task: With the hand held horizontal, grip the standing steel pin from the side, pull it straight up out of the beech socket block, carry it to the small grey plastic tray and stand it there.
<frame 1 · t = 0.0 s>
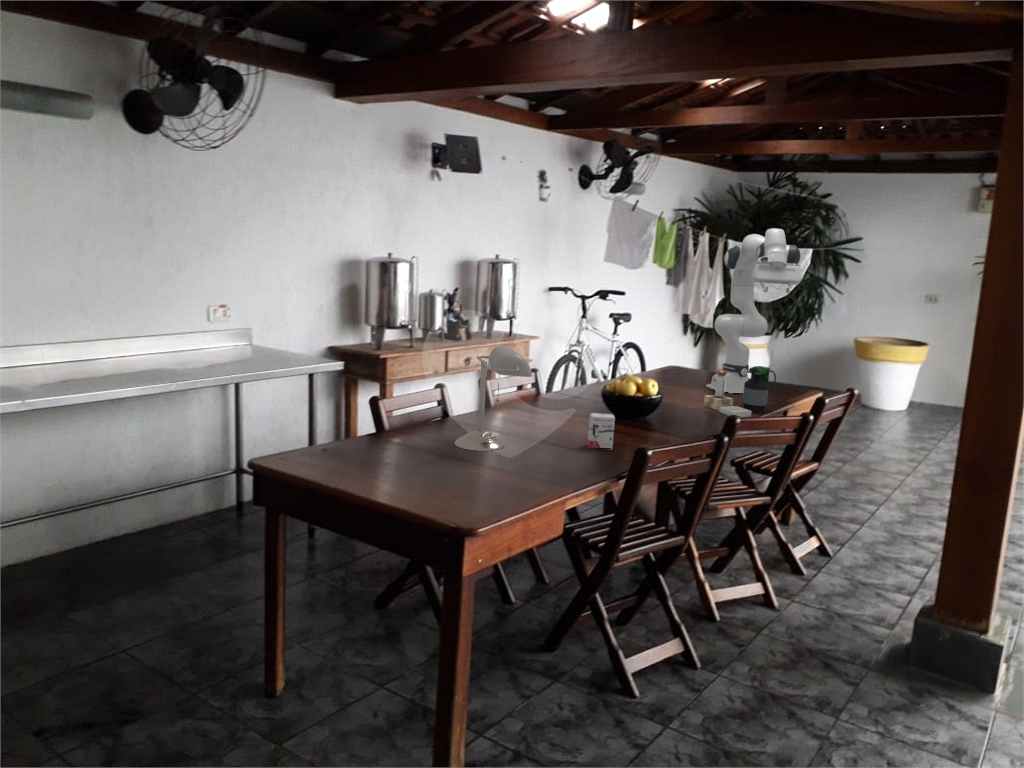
hand: (776, 292, 340), 54 cm above the table, tool tilted 30°, fingers open, 8 cm apart
lamp: (489, 444, 281), on the table
grenade: (755, 410, 362), on the table
tray: (734, 414, 351), on the table
pin: (719, 389, 361), in the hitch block
ink box: (599, 447, 285), on the table
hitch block: (717, 407, 363), on the table
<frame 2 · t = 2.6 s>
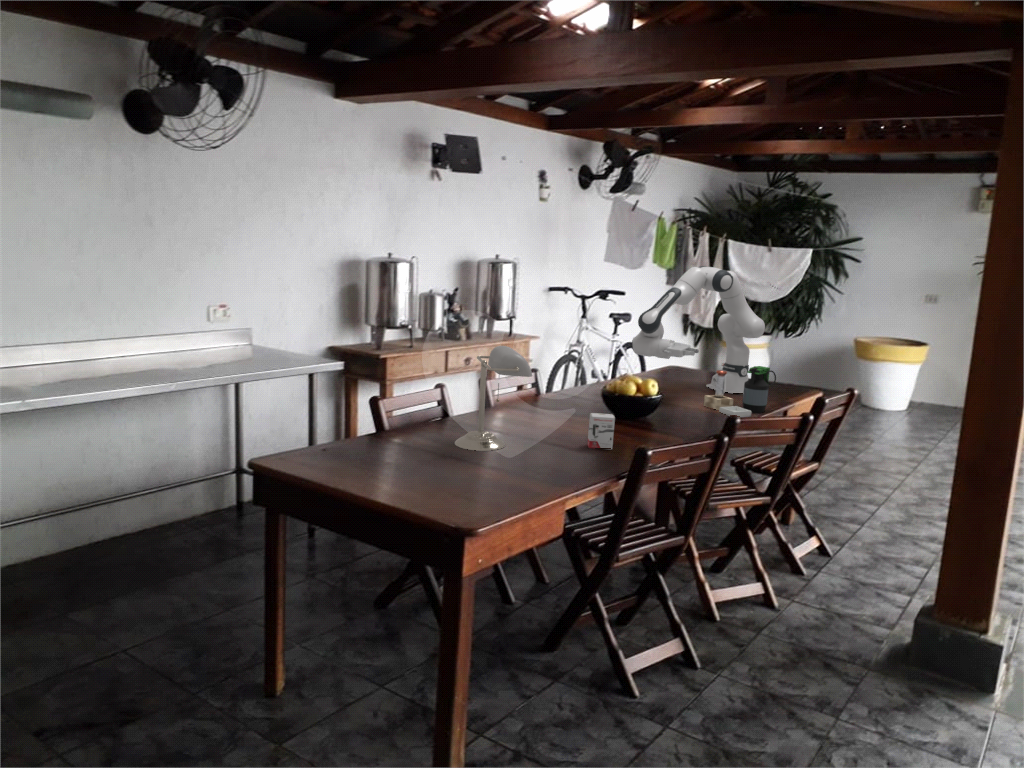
hand: (696, 352, 363), 24 cm above the table, tool horizontal, fingers open, 8 cm apart
nothing on the table moved.
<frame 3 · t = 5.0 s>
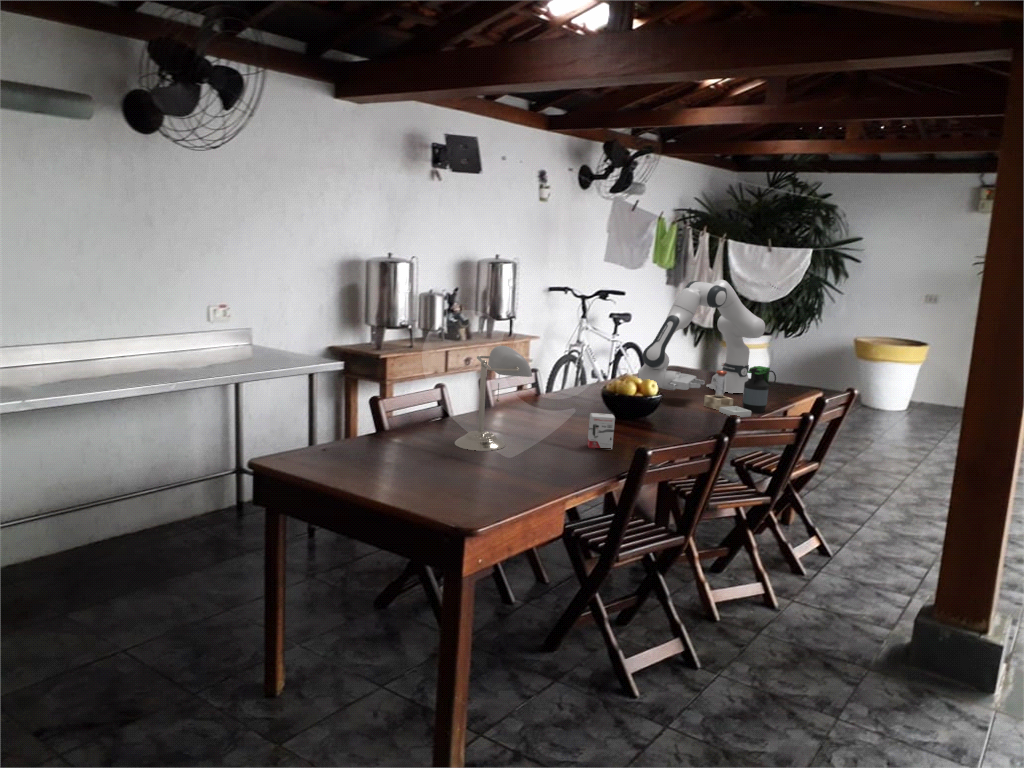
hand: (702, 384, 364), 10 cm above the table, tool horizontal, fingers open, 8 cm apart
nothing on the table moved.
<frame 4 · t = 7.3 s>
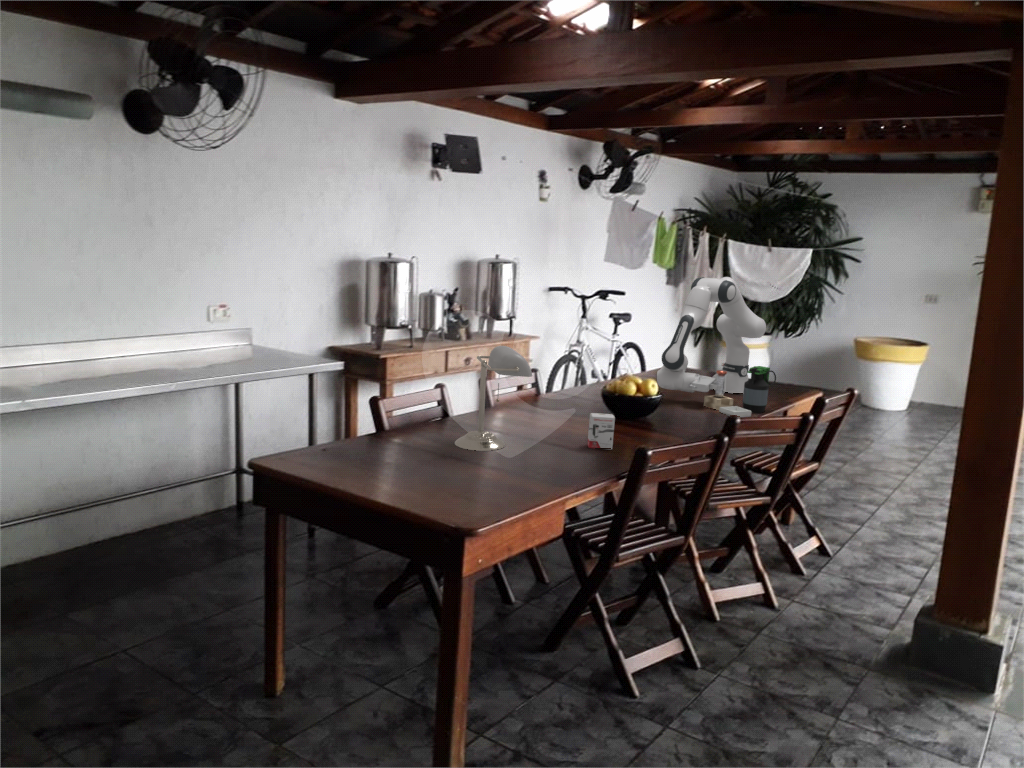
hand: (722, 386, 361), 10 cm above the table, tool horizontal, fingers closed on pin, 4 cm apart
pin: (719, 389, 361), in the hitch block, touching gripper
everything else where it was.
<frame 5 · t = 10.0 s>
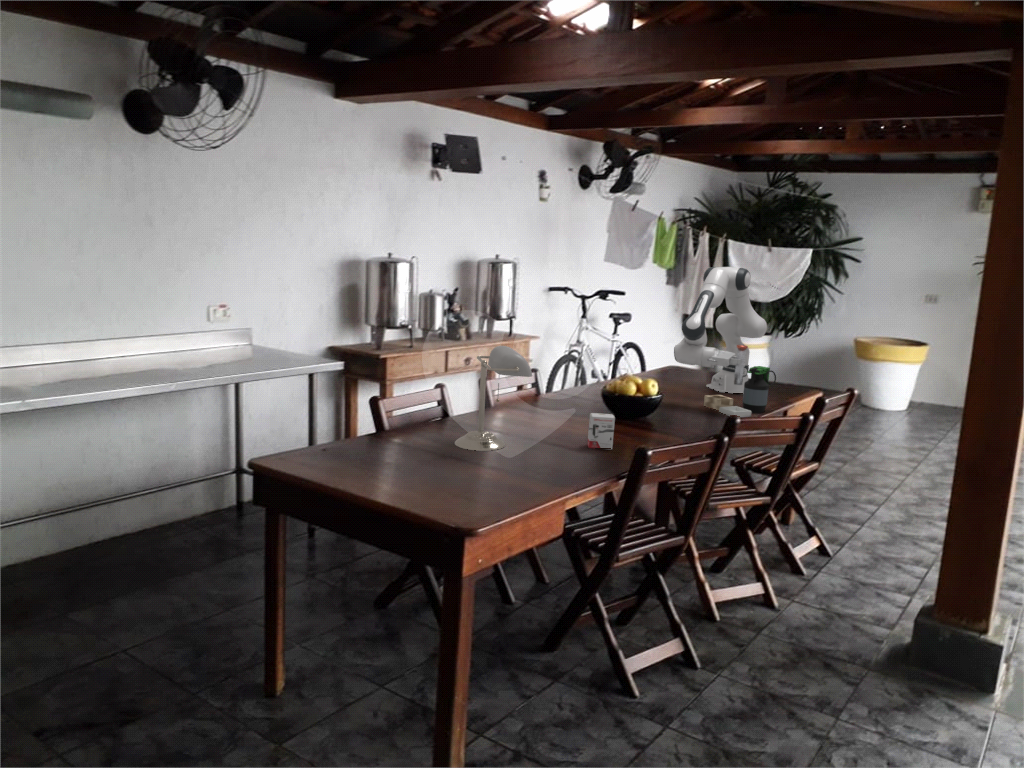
hand: (742, 361, 346), 24 cm above the table, tool horizontal, fingers closed on pin, 4 cm apart
pin: (740, 365, 347), point 22 cm above the table, touching gripper
everything else where it was.
when the fingers open (12 cm above the table, at t = 12.6 s): pin stays where it is, resting on tray.
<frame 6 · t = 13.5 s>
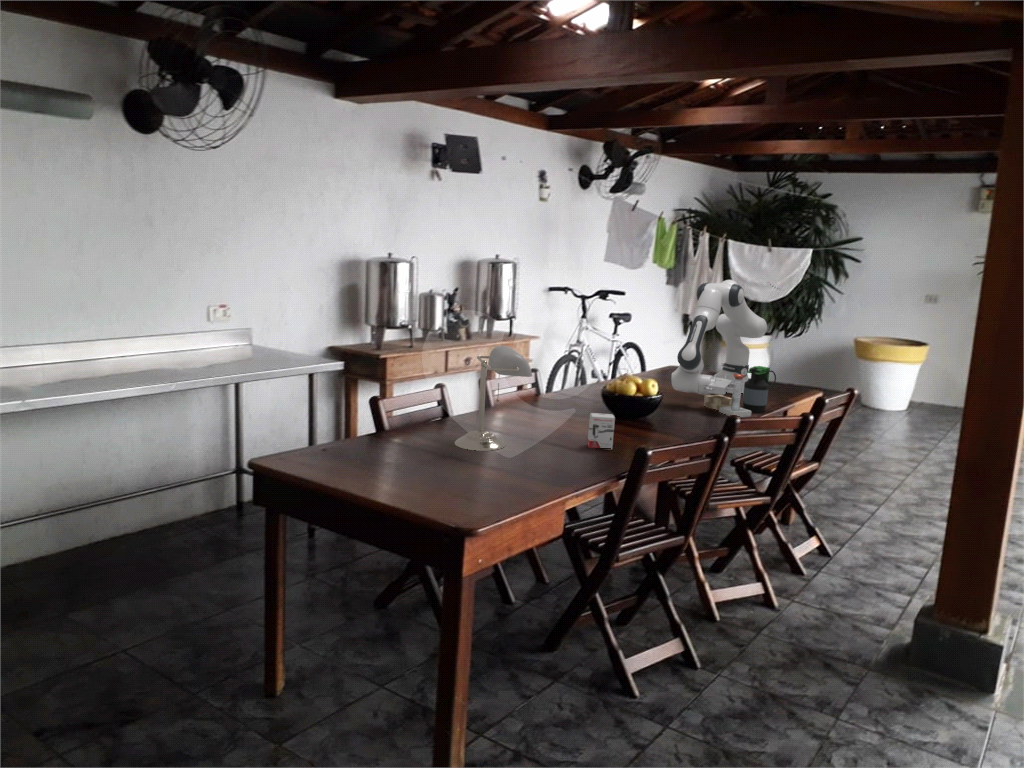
hand: (739, 389, 349), 12 cm above the table, tool horizontal, fingers open, 8 cm apart
pin: (736, 393, 349), in the tray, point 9 cm above the table
everything else where it was.
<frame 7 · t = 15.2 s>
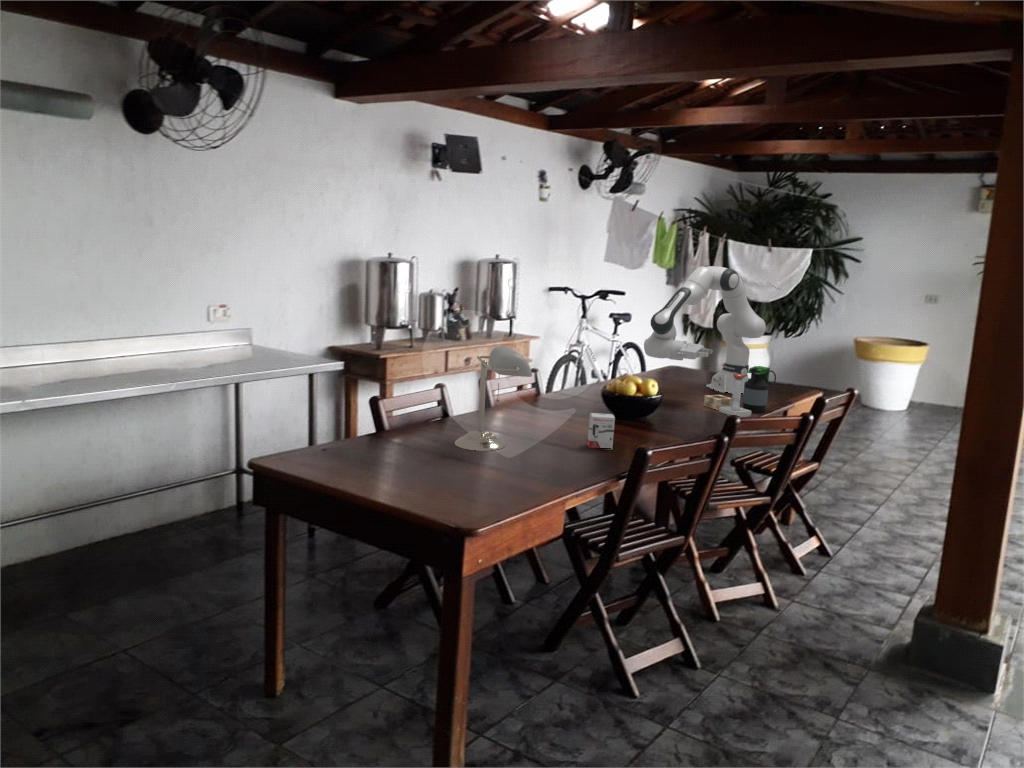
hand: (710, 353, 357), 25 cm above the table, tool horizontal, fingers open, 8 cm apart
nothing on the table moved.
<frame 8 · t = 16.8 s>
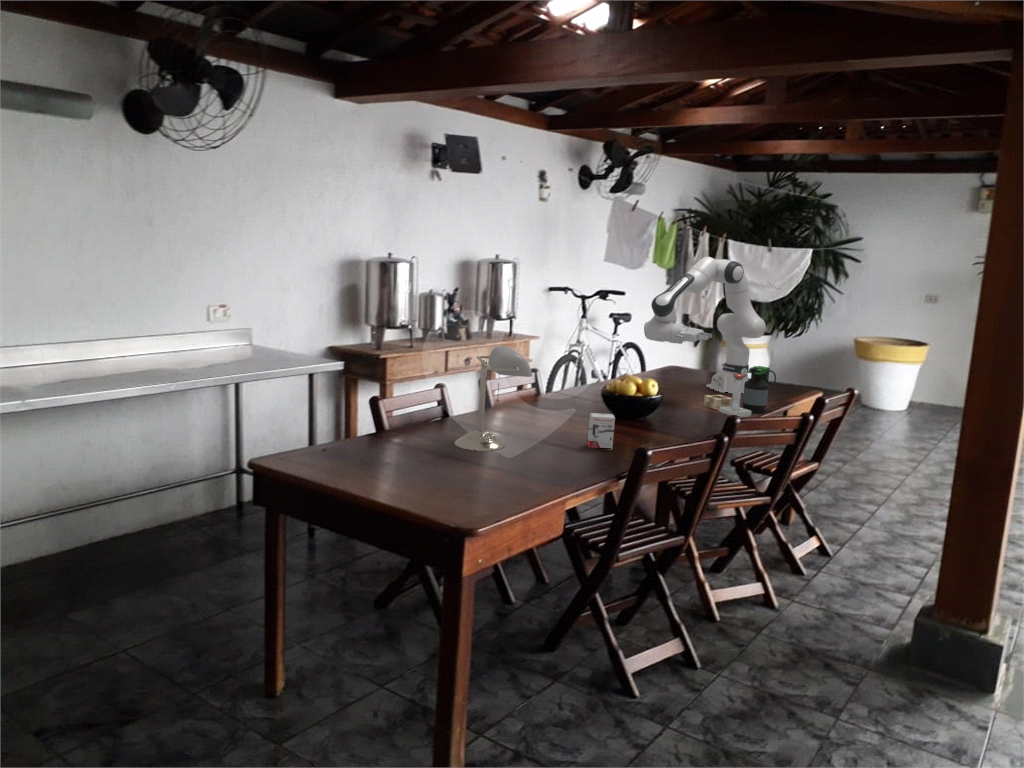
hand: (709, 337, 357), 32 cm above the table, tool horizontal, fingers open, 8 cm apart
nothing on the table moved.
at the end: pin inside the target area on the tray (0.1 cm from its centre), point 9.3 cm above the tray's base; pin tilted 0°; the gripper is holding nothing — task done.
